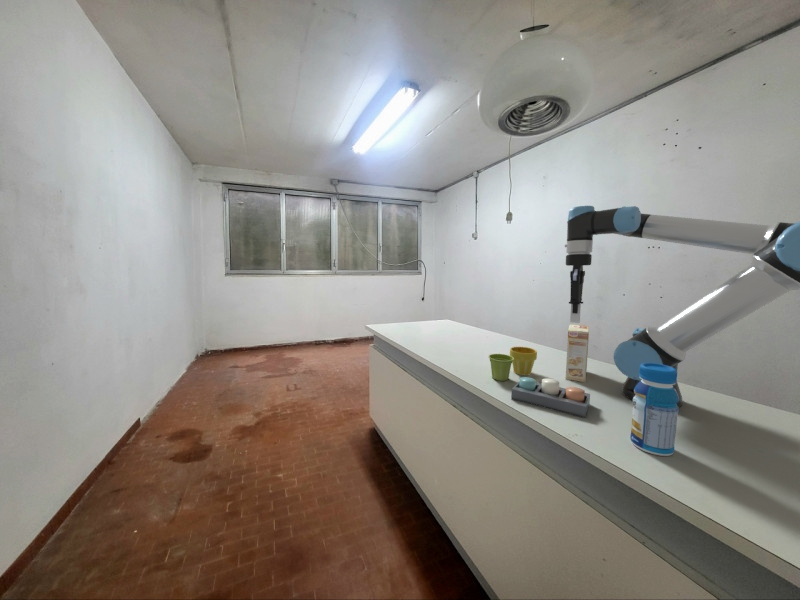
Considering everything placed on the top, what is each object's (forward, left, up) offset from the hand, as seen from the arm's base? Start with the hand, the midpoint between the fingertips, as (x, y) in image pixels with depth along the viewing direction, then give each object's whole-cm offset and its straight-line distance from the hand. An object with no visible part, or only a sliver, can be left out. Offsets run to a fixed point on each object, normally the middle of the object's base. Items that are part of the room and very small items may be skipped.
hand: (574, 322), depth 104 cm
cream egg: (+4, +15, -22) cm, 27 cm away
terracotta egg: (-3, +15, -23) cm, 28 cm away
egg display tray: (+4, +15, -24) cm, 29 cm away
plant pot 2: (+19, -8, -25) cm, 32 cm away
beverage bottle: (-21, +27, -25) cm, 42 cm away
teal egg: (+11, +15, -23) cm, 30 cm away
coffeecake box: (+1, -18, -25) cm, 31 cm away
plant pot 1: (+24, +4, -25) cm, 35 cm away
